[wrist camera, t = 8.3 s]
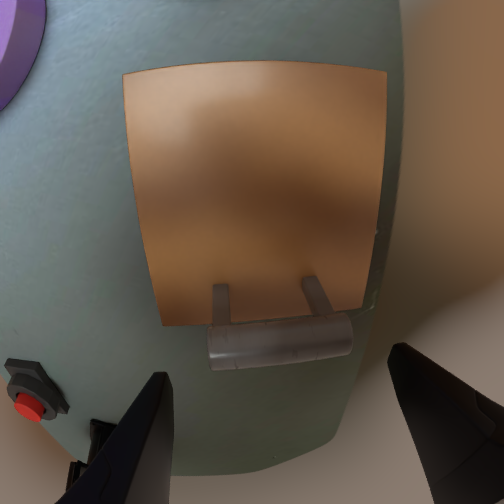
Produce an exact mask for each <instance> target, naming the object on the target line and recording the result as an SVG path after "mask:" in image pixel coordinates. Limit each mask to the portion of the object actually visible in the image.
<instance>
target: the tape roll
mask: <svg viewBox="0 0 504 504" xmlns="http://www.w3.org/2000/svg"><path fill="white" fill-rule="evenodd" d="M45 15H46V6H45V0H0V111H1V110H2V109H3V108H4V107H5V106H6V105H7V104H8V103H9V101H10V100H11V99H12V98H13V96H14V95H15V94H16V92H17V91H18V89H19V88H20V86H21V85H22V83H23V81H24V80H25V78H26V76H27V74H28V73H29V71H30V69H31V67H32V64H33V62H34V60H35V57H36V55H37V52H38V49H39V46H40V43H41V40H42V35H43V31H44V25H45Z"/></svg>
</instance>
